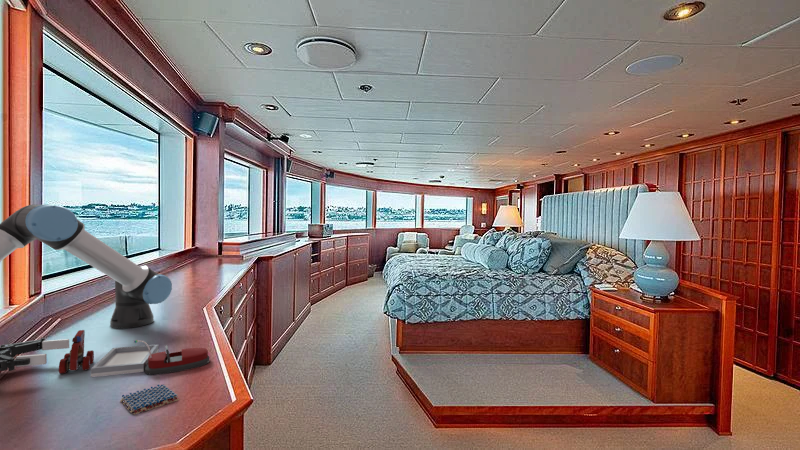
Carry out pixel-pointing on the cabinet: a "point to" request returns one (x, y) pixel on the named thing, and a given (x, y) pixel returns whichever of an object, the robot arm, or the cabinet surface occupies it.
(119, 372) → the tray
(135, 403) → the woven mat
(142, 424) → the cabinet surface
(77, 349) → the toy fire truck
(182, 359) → the bumper car
